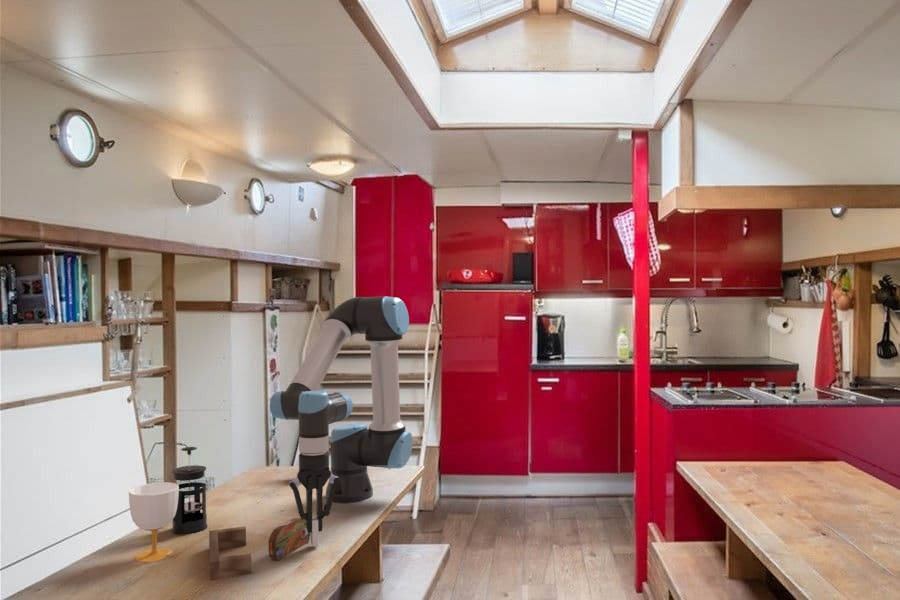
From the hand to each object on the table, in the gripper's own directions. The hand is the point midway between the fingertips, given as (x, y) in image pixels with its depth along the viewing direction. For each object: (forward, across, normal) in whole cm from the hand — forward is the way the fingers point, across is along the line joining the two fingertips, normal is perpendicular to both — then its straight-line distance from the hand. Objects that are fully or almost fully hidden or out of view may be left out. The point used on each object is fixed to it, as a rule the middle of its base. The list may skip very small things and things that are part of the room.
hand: (314, 544), depth 171 cm
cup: (+2, +38, -12) cm, 40 cm away
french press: (+2, +30, -30) cm, 43 cm away
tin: (+2, +6, 0) cm, 7 cm away
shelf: (+2, +20, 0) cm, 20 cm away
